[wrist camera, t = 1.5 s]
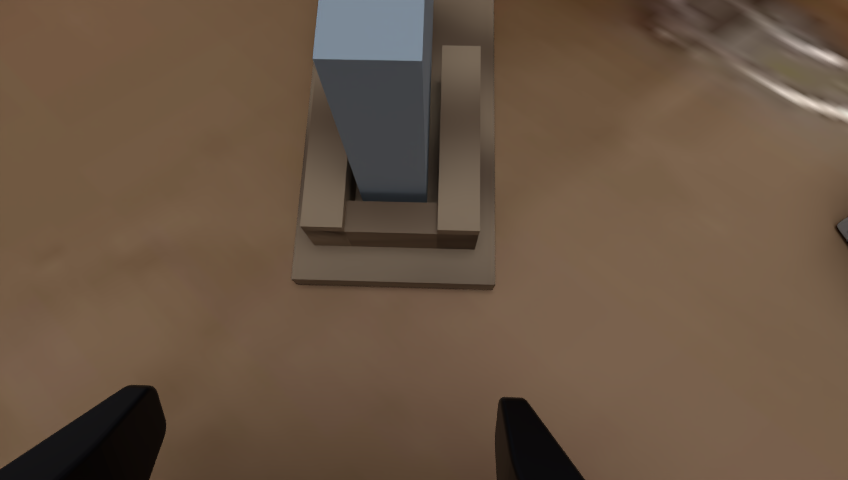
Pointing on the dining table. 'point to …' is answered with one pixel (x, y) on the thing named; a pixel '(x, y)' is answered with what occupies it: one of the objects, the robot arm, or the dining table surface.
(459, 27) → the holder
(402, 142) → the cover plate
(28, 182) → the dining table surface
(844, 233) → the light bulb box
